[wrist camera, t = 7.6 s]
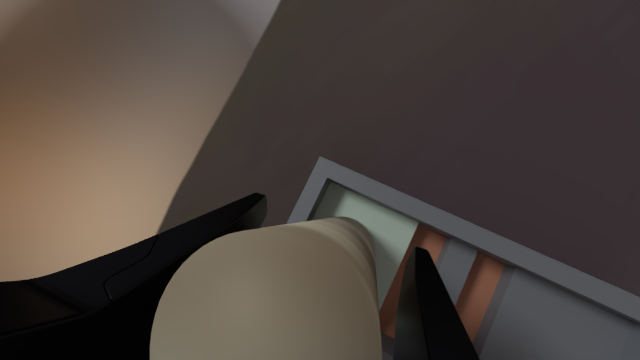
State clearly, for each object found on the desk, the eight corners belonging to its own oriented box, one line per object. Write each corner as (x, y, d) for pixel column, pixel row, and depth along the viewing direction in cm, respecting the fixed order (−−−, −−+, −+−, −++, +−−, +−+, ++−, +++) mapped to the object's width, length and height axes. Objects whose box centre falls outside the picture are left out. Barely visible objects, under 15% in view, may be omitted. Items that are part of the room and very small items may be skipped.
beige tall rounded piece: (376, 283, 15) (390, 529, 3) (311, 281, 16) (141, 474, 4) (373, 215, 16) (376, 228, 4) (310, 216, 16) (156, 229, 5)
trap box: (574, 465, 13) (632, 531, 10) (271, 281, 18) (252, 292, 15) (632, 304, 14) (701, 324, 11) (327, 167, 19) (320, 156, 16)
